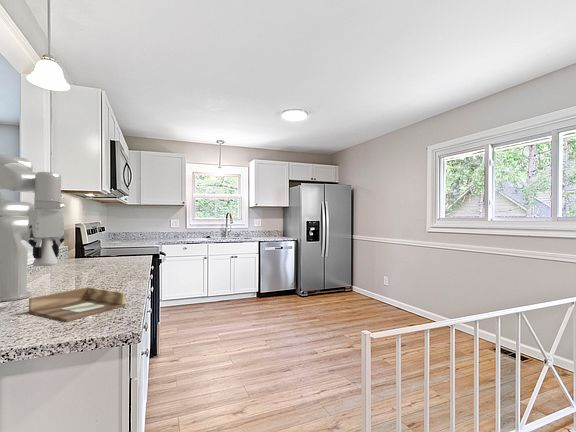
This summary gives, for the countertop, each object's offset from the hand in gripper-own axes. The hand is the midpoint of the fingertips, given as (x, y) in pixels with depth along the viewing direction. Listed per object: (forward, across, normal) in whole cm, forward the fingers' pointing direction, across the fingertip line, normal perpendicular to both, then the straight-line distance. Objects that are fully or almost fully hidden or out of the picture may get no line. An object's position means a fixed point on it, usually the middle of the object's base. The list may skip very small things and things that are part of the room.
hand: (45, 256), depth 113 cm
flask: (+3, 0, 0) cm, 3 cm away
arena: (+17, -2, +16) cm, 24 cm away
